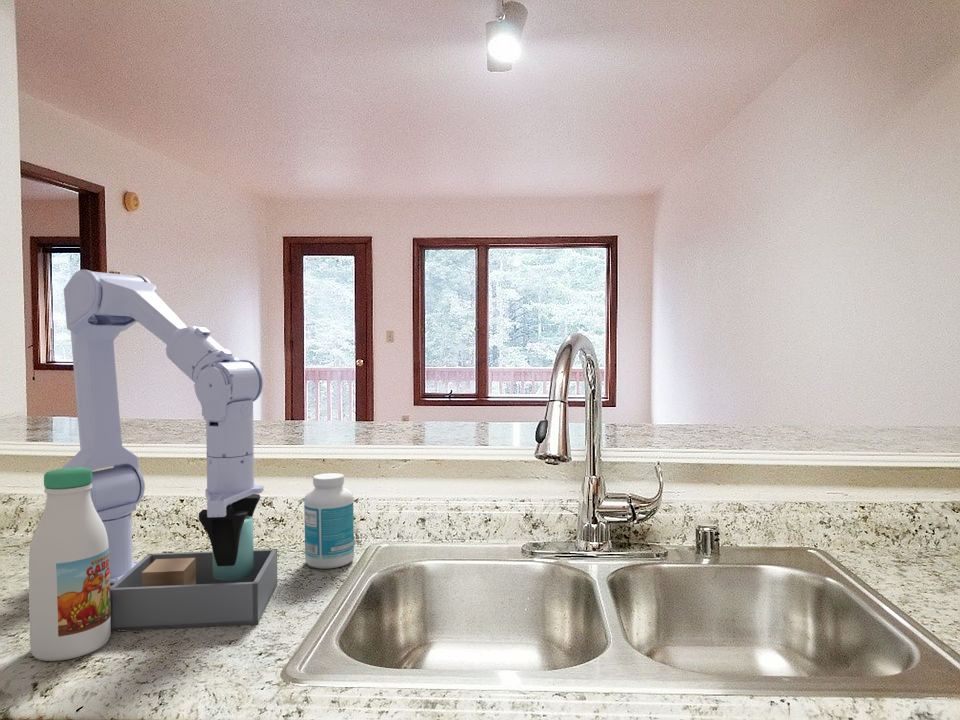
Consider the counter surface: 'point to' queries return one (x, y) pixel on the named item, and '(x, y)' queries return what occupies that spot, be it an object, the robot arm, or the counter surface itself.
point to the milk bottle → (69, 571)
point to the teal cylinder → (239, 556)
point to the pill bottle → (329, 523)
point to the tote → (193, 596)
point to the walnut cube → (170, 572)
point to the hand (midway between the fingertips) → (231, 557)
